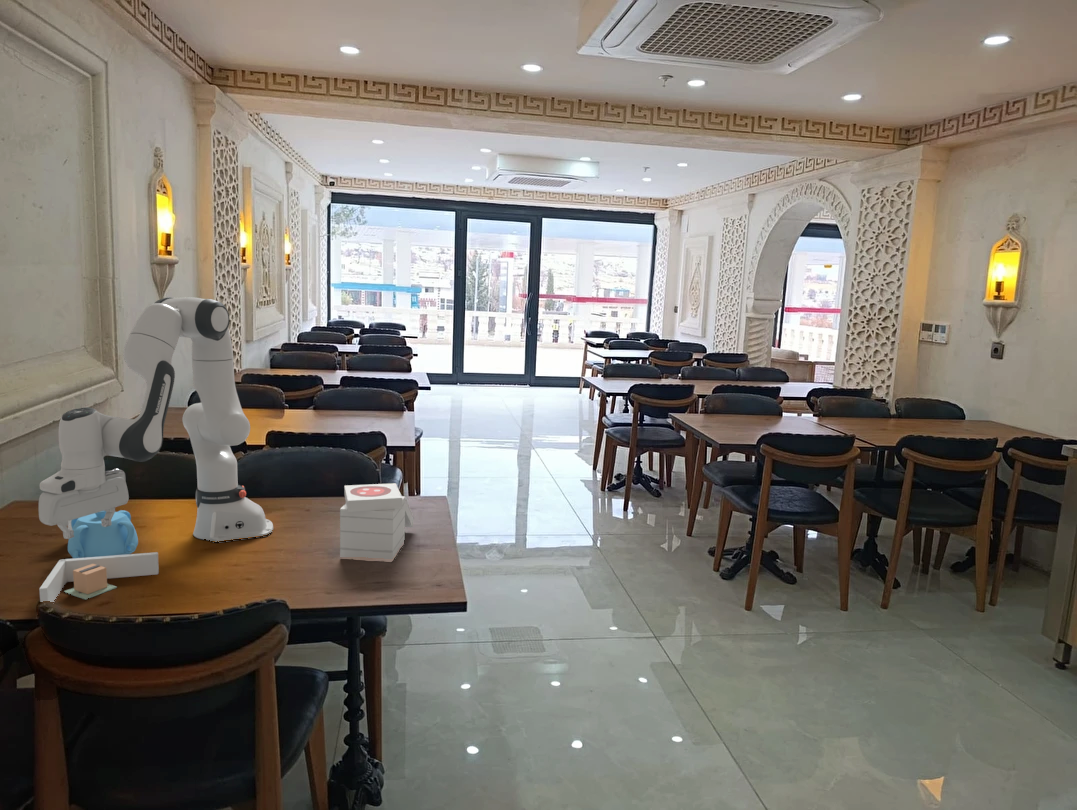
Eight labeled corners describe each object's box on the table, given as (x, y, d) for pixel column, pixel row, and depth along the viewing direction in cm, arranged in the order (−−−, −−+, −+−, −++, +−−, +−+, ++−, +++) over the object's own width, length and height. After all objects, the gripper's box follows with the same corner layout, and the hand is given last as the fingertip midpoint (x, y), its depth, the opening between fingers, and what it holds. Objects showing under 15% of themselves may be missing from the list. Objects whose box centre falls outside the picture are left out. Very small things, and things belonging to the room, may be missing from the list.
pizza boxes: (419, 529, 234) (420, 474, 231) (397, 566, 205) (398, 503, 202) (360, 526, 235) (360, 471, 232) (329, 562, 205) (328, 499, 202)
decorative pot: (140, 544, 212) (138, 498, 210) (136, 564, 198) (134, 515, 196) (73, 551, 205) (70, 503, 203) (65, 572, 191) (61, 521, 189)
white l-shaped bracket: (158, 572, 194) (157, 552, 193) (148, 601, 177) (147, 579, 176) (61, 580, 186) (59, 559, 185) (41, 611, 169) (39, 588, 169)
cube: (94, 582, 185) (92, 562, 184) (107, 586, 183) (106, 566, 182) (74, 589, 180) (72, 569, 179) (87, 594, 178) (86, 573, 177)
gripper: (115, 465, 187) (119, 517, 190) (31, 485, 169) (37, 542, 171) (132, 468, 185) (136, 521, 187) (49, 489, 166) (54, 547, 169)
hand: (88, 531), depth 179 cm, fingers open, 8 cm apart
